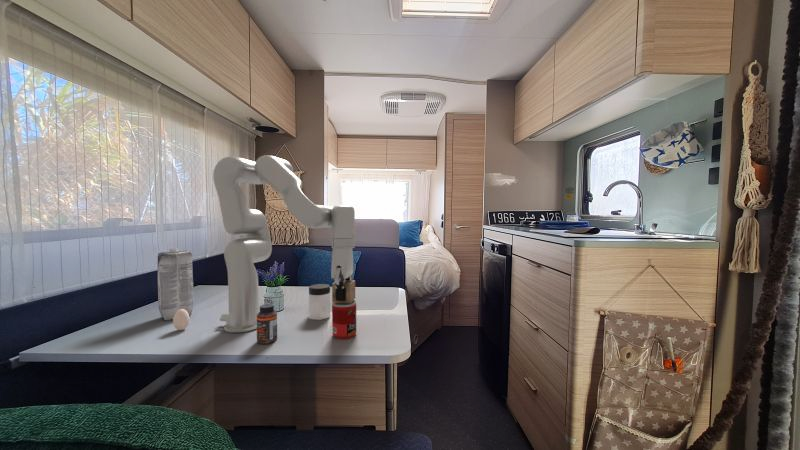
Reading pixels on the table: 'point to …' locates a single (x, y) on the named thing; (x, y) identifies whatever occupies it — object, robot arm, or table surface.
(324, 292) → the jar
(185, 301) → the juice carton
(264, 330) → the supplement bottle
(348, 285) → the walnut cube
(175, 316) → the egg
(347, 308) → the canned food
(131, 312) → the table surface
